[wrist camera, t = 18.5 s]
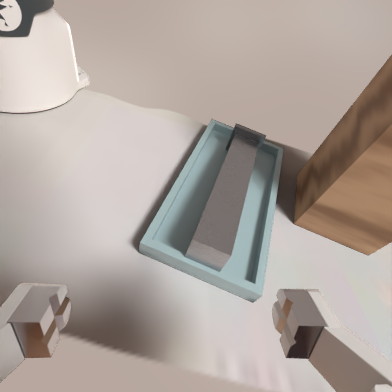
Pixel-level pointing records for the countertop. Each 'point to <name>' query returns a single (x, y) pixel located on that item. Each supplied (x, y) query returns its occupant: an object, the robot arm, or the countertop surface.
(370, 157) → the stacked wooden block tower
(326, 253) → the countertop surface
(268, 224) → the tray
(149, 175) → the countertop surface
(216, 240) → the gray rectangular bar
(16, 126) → the countertop surface
